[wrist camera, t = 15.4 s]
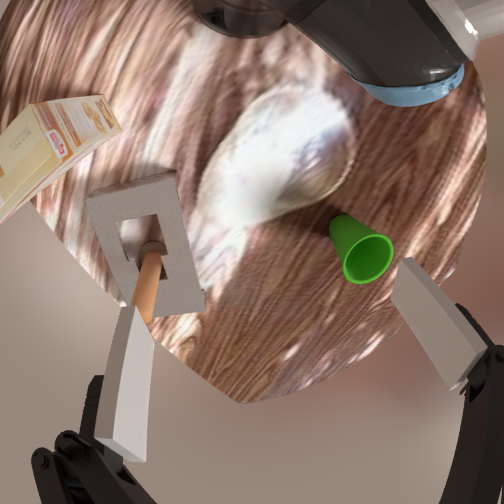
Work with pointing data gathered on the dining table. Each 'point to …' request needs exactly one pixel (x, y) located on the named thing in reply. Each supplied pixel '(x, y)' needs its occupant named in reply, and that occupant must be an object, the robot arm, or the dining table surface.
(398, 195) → the dining table surface
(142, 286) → the headed peg
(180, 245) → the keyhole plate
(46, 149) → the coffeecake box
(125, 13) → the dining table surface
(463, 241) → the dining table surface
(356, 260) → the cup
